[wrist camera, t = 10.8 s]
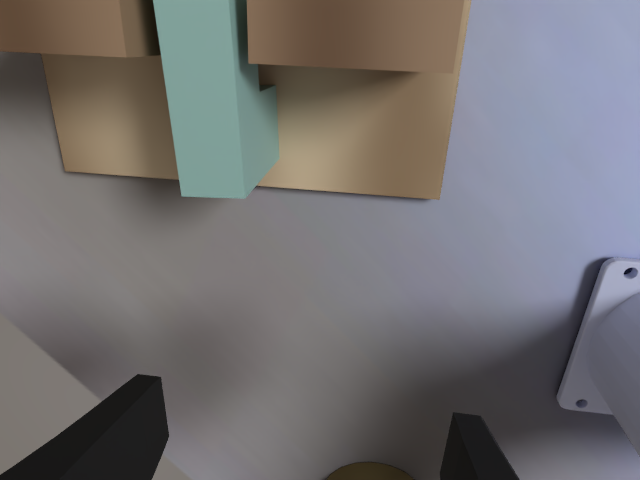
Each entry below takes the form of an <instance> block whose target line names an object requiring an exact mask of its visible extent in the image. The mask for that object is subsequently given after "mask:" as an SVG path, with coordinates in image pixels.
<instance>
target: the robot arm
mask: <svg viewBox="0 0 640 480" xmlns="http://www.w3.org/2000/svg"><path fill="white" fill-rule="evenodd" d="M628 268H633V270H632V271H631V272H630V273H628V274H624V272H625V270H626V269H628ZM581 399H583V400H582V401H580V402H577V401H578V400H581ZM557 401H558V403H559V405H560V406H561V407H562V408H564V409H567V410H575V411H584V412H592V413H601V414H609V415H614V416H615V418H616V419H617V421H618V423H619V424H620V426H621V427H622V429H623V431H624V432H625V434H626V435H627V437H628V439H629V440H630V442H631V443H632V445H633V447H634V448H635V450H636V452H637V453H638V455H639V456H640V259H630V258H618V257H617V258H611V259H608V260H606V261H605V262H604V263H603V264H602V266H601V268H600V271H599V274H598V277H597V280H596V283H595V286H594V289H593V292H592V295H591V297H590V300H589V303H588V306H587V309H586V312H585V315H584V318H583V321H582V324H581V327H580V330H579V333H578V335H577V338H576V341H575V344H574V347H573V350H572V353H571V356H570V359H569V362H568V365H567V368H566V371H565V373H564V376H563V379H562V382H561V385H560V388H559V391H558V394H557ZM168 438H169V432H168V425H167V418H166V411H165V403H164V396H163V389H162V382H161V377H157V376H149V375H141V374H137V375H136V376H135V377H133V378H132V379H131V380H129V381H128V382H127V383H125V384H124V385H123V386H121V387H120V388H119V389H118V390H116V391H115V392H114V393H112V394H111V395H110V396H109V397H107V398H106V399H105V400H103V401H102V402H101V403H100V404H98V405H97V406H96V407H94V408H93V409H92V410H91V411H89V412H88V413H87V414H85V415H84V416H83V417H81V418H80V419H79V420H77V421H76V422H75V423H73V424H72V425H71V426H69V427H68V428H67V429H65V430H64V431H63V432H61V433H60V434H59V435H57V436H56V437H55V438H53V439H52V440H50V441H49V442H47V443H46V444H44V445H43V446H42V447H40V448H39V449H37V450H36V451H34V452H33V453H32V454H30V455H29V456H27V457H26V458H25V459H23V460H22V461H20V462H19V463H17V464H16V465H15V466H13V467H12V468H10V469H9V470H7V471H6V472H4V473H3V474H1V475H0V480H151V479H152V478H153V475H154V473H155V471H156V468H157V466H158V463H159V461H160V459H161V456H162V453H163V451H164V448H165V446H166V443H167V441H168ZM440 480H520V479H519V478H518V476H517V475H516V473H515V471H514V470H513V468H512V467H511V465H510V463H509V462H508V460H507V459H506V457H505V455H504V454H503V452H502V451H501V449H500V447H499V446H498V444H497V442H496V441H495V439H494V437H493V436H492V434H491V432H490V430H489V429H488V427H487V425H486V423H485V422H484V420H483V419H482V418H481V417H480V416H477V415H469V414H461V413H453V416H452V421H451V425H450V430H449V434H448V439H447V443H446V448H445V452H444V457H443V462H442V466H441V471H440Z"/></svg>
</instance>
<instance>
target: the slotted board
mask: <svg viewBox="0 0 640 480" xmlns="http://www.w3.org/2000/svg"><path fill="white" fill-rule="evenodd" d="M470 5H471V0H247V26H248V64H258V75H259V85H276V95H277V116H278V137H279V158H280V159H279V160H278V161H277V162H276V163H275V164H274V166H273V167H272V168H271V169H270V170H269V171H268V173H267V174H266V175H265V176H264V177H263V178H262V180H261V181H260V182H259V183H258V184H257V185H256V186H267V187H280V188H293V189H306V190H319V191H332V192H345V193H358V194H371V195H385V196H398V197H411V198H424V199H437V200H439V199H440V193H441V187H442V181H443V174H444V168H445V162H446V156H447V149H448V143H449V137H450V130H451V124H452V118H453V112H454V105H455V99H456V93H457V87H458V80H459V74H460V68H461V62H462V55H463V49H464V43H465V36H466V30H467V24H468V18H469V11H470ZM0 51H4V52H25V53H41V56H42V61H43V66H44V71H45V76H46V81H47V86H48V90H49V95H50V100H51V105H52V110H53V115H54V120H55V124H56V129H57V134H58V139H59V144H60V149H61V154H62V159H63V163H64V168H65V171H71V172H84V173H97V174H110V175H123V176H136V177H149V178H162V179H175V180H179V175H178V169H177V162H176V155H175V148H174V141H173V134H172V127H171V120H170V113H169V107H168V100H167V93H166V86H165V79H164V72H163V65H162V58H161V51H160V45H159V38H158V31H157V24H156V17H155V10H154V3H153V0H0Z"/></svg>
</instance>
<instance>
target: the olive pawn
mask: <svg viewBox="0 0 640 480" xmlns="http://www.w3.org/2000/svg"><path fill="white" fill-rule="evenodd" d="M327 480H414V479H413V478H412V477H410V476H409V475H408V474H406V473H405V472H404V471H401V470H399V469H397V468H394V467H392V466H390V465H385V464H380V463H374V462H365V463H354V464H350V465H347V466H344V467H341V468H339V469H338V470H336V471H335V472H333V473H332V474H330V476H329V477H328V478H327Z"/></svg>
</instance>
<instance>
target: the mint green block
mask: <svg viewBox="0 0 640 480" xmlns="http://www.w3.org/2000/svg"><path fill="white" fill-rule="evenodd" d="M153 3H154V10H155V17H156V24H157V31H158V38H159V45H160V51H161V58H162V65H163V72H164V79H165V86H166V93H167V100H168V107H169V113H170V120H171V127H172V134H173V141H174V148H175V155H176V162H177V169H178V175H179V182H180V189H181V196H182V197H212V198H244V199H245V198H246V197H247V196H248V195H249V193H250V192H251V191H252V190H253V189H254V188H255V187H256V185H257V184H258V183H259V182H260V181H261V180H262V178H263V177H264V176H265V175H266V174H267V173H268V171H269V170H270V169H271V168H272V167H273V166H274V164H275V163H276V162H277V161H278V160H279V159H280V158H279V137H278V116H277V95H276V85H259V75H258V64H248V26H247V0H153Z"/></svg>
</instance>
